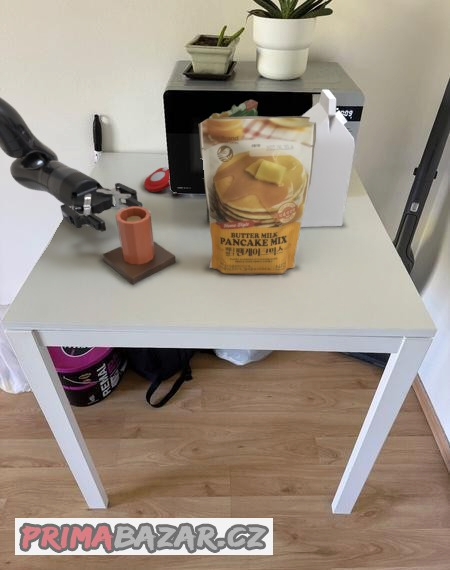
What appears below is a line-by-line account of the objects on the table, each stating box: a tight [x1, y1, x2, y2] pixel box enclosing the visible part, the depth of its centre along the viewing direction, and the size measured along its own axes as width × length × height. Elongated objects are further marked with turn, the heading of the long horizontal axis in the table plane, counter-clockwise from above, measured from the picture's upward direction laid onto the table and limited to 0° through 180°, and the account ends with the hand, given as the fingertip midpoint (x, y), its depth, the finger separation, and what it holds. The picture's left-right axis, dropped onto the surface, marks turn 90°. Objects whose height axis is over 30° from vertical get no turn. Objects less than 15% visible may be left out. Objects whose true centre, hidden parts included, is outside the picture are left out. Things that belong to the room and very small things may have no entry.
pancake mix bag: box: [197, 115, 316, 275], centre depth 77 cm, size 7×19×28 cm, turn 91°
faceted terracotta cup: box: [115, 206, 155, 265], centre depth 82 cm, size 6×6×9 cm
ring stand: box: [102, 216, 177, 285], centre depth 83 cm, size 10×10×10 cm
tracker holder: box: [143, 166, 180, 195], centre depth 109 cm, size 12×4×10 cm
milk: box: [301, 89, 356, 228], centre depth 93 cm, size 12×12×26 cm
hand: (123, 217), depth 83 cm, fingers open, 8 cm apart
